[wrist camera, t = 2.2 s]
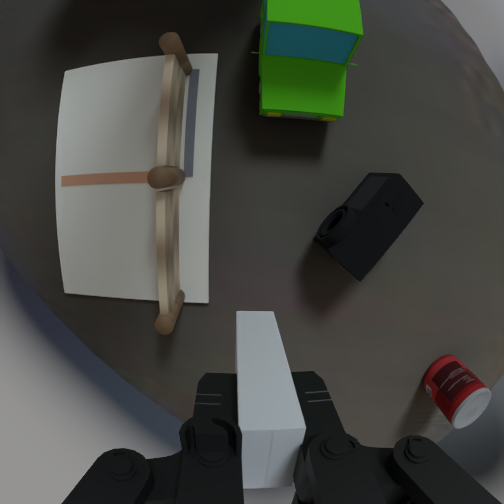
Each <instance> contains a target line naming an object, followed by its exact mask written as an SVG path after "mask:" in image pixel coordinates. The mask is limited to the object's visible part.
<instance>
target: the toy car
mask: <svg viewBox="0 0 504 504" xmlns="http://www.w3.org/2000/svg"><path fill="white" fill-rule="evenodd" d="M260 20H261V27H260V42H259V52H251V53H258V54H259V76H260V83H259V102H260V103H259V113H260V115H262V117H279V118H293V119H305V120H316V121H325V122H333V121H335V120H337V119H339V118H340V117H342V116H343V110H344V98H345V83H346V67H347V65H348V64H350V65H356V64H352V63H349V61H350V59H351V58H352V56H353V54H354V52H355V50H356V48H357V46H358V44H359V42H360V40H361V38H362V36H363V28H362V19H361V11H360V4H359V0H262V5H261V11H260Z"/></svg>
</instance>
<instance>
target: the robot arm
mask: <svg viewBox="0 0 504 504" xmlns="http://www.w3.org/2000/svg"><path fill="white" fill-rule="evenodd" d="M235 366H236V374H226V373H206V374H205V375H204V376H203V377H202V378H201V379H200V381H199V382H198V387H197V395H196V400H195V406H194V413H193V417H192V418H190V419H189V420H188V421H186V422H185V423H184V424H183V425H182V427H181V429H180V431H179V435H180V441H181V446H182V450H181V451H180V452H178V453H176V454H174V455H171V456H167V457H161V458H153V459H145V457H144V456H143V455H141V454H140V453H138V452H136V451H134V450H130V449H125V448H120V449H112V450H110V451H107V452H104V453H103V454H102V455H101V456H100V457H98V458H97V460H96V461H95V462H94V463H93V465H92V466H91V467H90V469H89V470H88V471H87V472H86V474H85V475H84V476H83V477H82V479H81V480H80V481H79V482H78V484H77V485H76V486H75V488H74V489H73V490H72V491H71V493H70V494H69V495H68V497H67V498H66V499H65V500H64V501H63V503H62V504H244V496H243V488H273V487H287V486H291V485H292V481H293V478H294V483H295V488H296V492H295V495H294V498H293V501H292V504H502V503H500V502H499V501H498V500H497V499H496V498H495V497H493V496H492V495H491V494H490V493H489V492H488V491H487V490H486V489H485V488H484V487H482V486H481V485H480V484H479V483H478V482H477V481H476V480H475V479H474V478H473V477H471V476H470V475H469V474H468V473H467V472H466V471H465V470H464V469H462V467H460V466H459V465H458V464H457V463H456V462H455V461H454V460H453V459H452V458H451V457H449V456H448V455H447V454H446V453H445V452H444V451H443V450H442V449H441V448H440V447H438V445H436V444H435V443H434V442H433V441H431V440H430V439H428V438H426V437H422V436H407V437H404V438H402V439H400V440H399V441H398V442H397V443H396V444H395V446H394V448H374V447H367V446H363V445H360V443H359V442H358V440H357V439H356V438H354V437H352V436H351V435H349V434H346V432H345V431H344V428H343V426H342V423H341V421H340V419H339V416H338V414H337V412H336V409H335V407H334V404H333V402H332V400H331V397H330V395H329V393H328V392H327V388H326V385H325V383H324V381H323V379H322V378H321V377H319V376H318V375H317V374H316V373H315V372H314V371H307V372H290V369H289V365H288V362H287V358H286V355H285V351H284V348H283V344H282V340H281V337H280V333H279V330H278V326H277V323H276V319H275V316H274V312H270V311H237V315H236V365H235Z"/></svg>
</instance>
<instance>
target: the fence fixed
mask: <svg viewBox="0 0 504 504" xmlns="http://www.w3.org/2000/svg"><path fill="white" fill-rule="evenodd" d="M159 46H160V47H161V49H162V51H163V52H164V54H165V63H164V72H163V81H162V90H161V101H160V113H159V127H158V144H157V166H165V167H154V168H152V169H151V170H150V171H149V173H148V175H147V181H148V184H149V185H150V186H151V187H152V188H154V189H161V188H166V187H171V186H176V185H180V184H182V183H183V182H184V180H185V173H184V171H183V170H182V169H179V168H170V167H180V156H181V136H182V119H183V105H184V93H185V82H186V76H188V75H190V73H191V71H192V66H191V63H190V61H189V59H188V56H187V54H186V51H185V49H184V47H183V44H182V42H181V40H180V37H179V35H178V34H177V33H175V32H168V33H165V34H163V35H162V36H161V37H160V39H159Z"/></svg>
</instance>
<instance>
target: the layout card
mask: <svg viewBox="0 0 504 504" xmlns="http://www.w3.org/2000/svg"><path fill="white" fill-rule="evenodd" d="M187 56H188V59H189V61H190V63H191V66H192V71H191V73H190V75H188V76H186V82H185V93H184V105H183V119H182V136H181V156H180V167H170V168H179V169H182V170H183V171H184V173H185V180H184V182H183V183H182V184H180V185H176V186H171V187H166V188H161V189H154V188H152V187H151V186H150V185H149V184H148V181H147V175H148V173H149V171H150V170H151V169H152V168H154V167H165V166H157V144H158V127H159V113H160V101H161V90H162V81H163V72H164V63H165V55H163V56H152V57H142V58H134V59H126V60H120V61H113V62H107V63H101V64H96V65H91V66H86V67H81V68H77V69H72V70H68V71H65V75H64V80H63V87H62V94H61V101H60V109H59V119H58V130H57V144H56V172H55V191H56V219H57V234H58V245H59V255H60V264H61V271H62V279H63V285H64V292H65V293H71V294H81V295H91V296H102V297H114V298H127V299H140V300H156V301H159V291H158V273H157V248H156V192H158V191H163V190H167V189H171V188H179V268H180V290H182V291H183V292H184V294H185V299H184V302H192V303H208V302H209V215H210V182H211V157H212V136H213V118H214V103H215V88H216V75H217V62H218V54H187Z"/></svg>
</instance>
